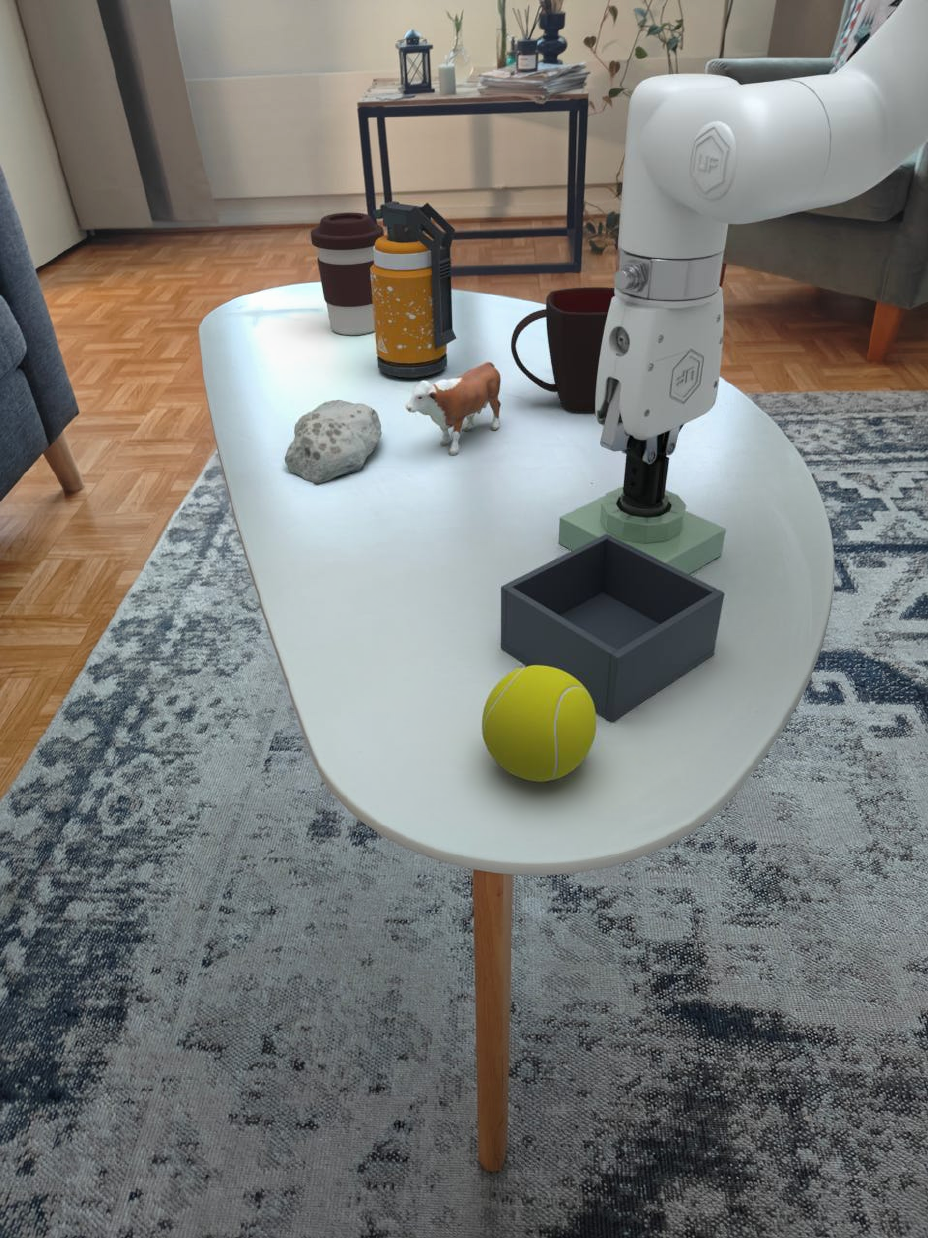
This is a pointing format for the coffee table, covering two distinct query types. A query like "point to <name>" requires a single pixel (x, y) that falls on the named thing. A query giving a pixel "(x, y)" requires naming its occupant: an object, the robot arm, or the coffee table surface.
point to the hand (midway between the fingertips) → (643, 496)
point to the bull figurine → (458, 401)
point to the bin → (611, 622)
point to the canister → (412, 291)
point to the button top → (642, 507)
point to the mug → (572, 343)
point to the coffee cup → (347, 269)
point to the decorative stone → (333, 440)
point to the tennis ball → (539, 723)
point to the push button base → (647, 531)
